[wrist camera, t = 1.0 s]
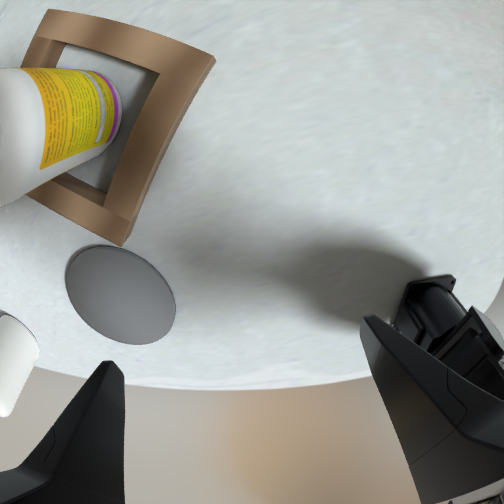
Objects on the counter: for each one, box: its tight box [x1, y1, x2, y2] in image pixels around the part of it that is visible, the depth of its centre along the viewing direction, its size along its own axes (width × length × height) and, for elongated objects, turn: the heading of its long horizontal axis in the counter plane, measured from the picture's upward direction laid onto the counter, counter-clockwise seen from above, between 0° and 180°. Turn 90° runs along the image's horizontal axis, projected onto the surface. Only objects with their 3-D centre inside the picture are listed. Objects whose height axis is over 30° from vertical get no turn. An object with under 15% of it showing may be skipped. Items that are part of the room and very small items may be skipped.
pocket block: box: [20, 9, 216, 247], centre depth 14 cm, size 14×14×2 cm
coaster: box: [66, 246, 176, 345], centre depth 23 cm, size 11×11×1 cm
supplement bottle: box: [0, 68, 122, 206], centre depth 10 cm, size 7×7×13 cm
